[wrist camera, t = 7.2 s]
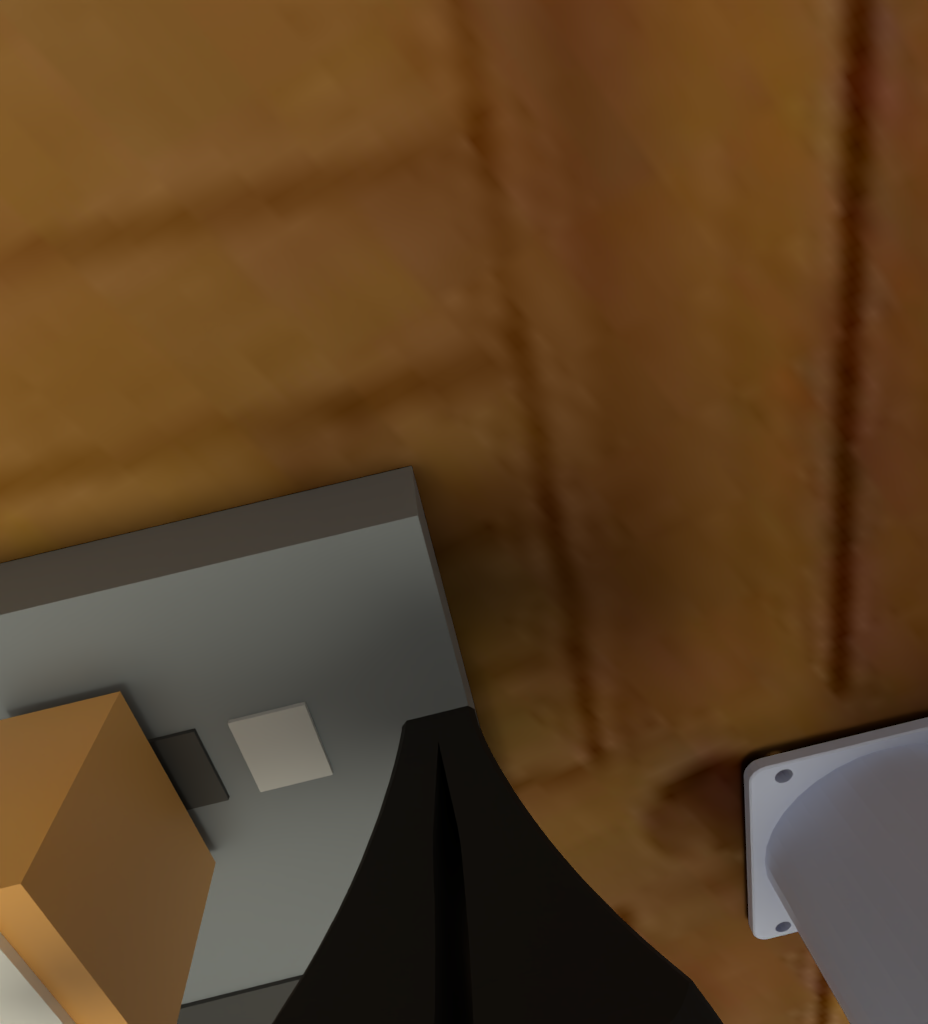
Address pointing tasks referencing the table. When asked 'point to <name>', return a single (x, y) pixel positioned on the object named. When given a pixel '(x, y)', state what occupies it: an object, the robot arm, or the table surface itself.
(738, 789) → the table surface
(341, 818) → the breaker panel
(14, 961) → the breaker paddle
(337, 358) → the table surface
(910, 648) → the table surface
